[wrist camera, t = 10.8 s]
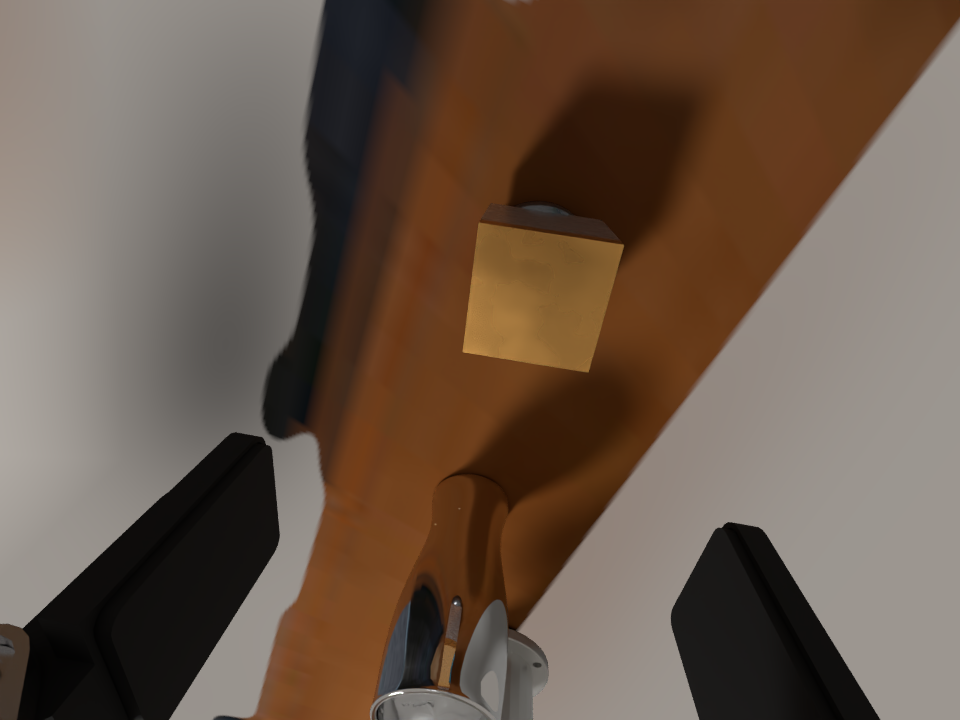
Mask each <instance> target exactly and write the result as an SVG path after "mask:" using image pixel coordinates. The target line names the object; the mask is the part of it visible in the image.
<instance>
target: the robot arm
mask: <svg viewBox="0 0 960 720" xmlns="http://www.w3.org/2000/svg"><path fill="white" fill-rule="evenodd" d="M279 537H280V534H279V522H278V511H277V501H276V489H275V478H274V467H273V456H272V449H271V447H270V446H268V445H266V444H265V441H264V439H263V438H262V437H258V436H253V435H247V434H242V433H236V432H235V433H231V434H230V435H229V436H227V437H226V438H225V439H224V440H223V441H222V442H221V443H220V444H219V445H218V446H217V447H216V448H215V449H214V450H213V451H211V452H210V453H209V454H208V455H207V456H206V457H205V458H204V459H203V460H202V461H201V462H200V463H199V464H198V465H197V466H196V467H195V468H194V469H193V470H191V471H190V472H189V473H188V474H187V475H186V476H185V477H184V478H183V479H182V480H181V481H180V482H179V483H178V484H177V485H176V486H175V487H174V488H173V489H172V490H170V491H169V492H168V493H167V494H165V495H164V496H163V497H161V498H160V499H159V500H158V501H157V502H156V503H155V504H154V505H153V506H152V507H151V508H149V509H148V510H147V511H146V512H145V513H144V514H143V515H142V516H141V517H140V518H139V519H138V520H137V521H136V522H135V523H134V524H133V525H132V526H130V527H129V528H128V530H126V531H125V532H124V533H123V534H122V535H121V536H120V537H119V538H118V539H117V540H116V541H115V542H114V543H112V545H110V546H109V547H108V548H107V549H106V550H105V551H104V552H103V553H102V554H101V555H100V556H99V557H98V558H97V559H96V560H95V561H94V562H93V563H91V564H90V565H89V566H88V567H87V568H86V569H85V570H84V571H83V572H82V573H81V574H80V575H79V576H78V577H77V578H76V579H74V580H73V581H72V582H71V583H70V584H69V585H68V586H67V587H66V588H65V589H64V590H63V591H62V592H61V593H60V594H59V595H58V596H57V597H55V598H54V599H53V600H52V601H51V602H50V603H49V604H48V605H47V606H46V607H45V608H44V609H43V610H42V611H41V612H40V613H39V614H38V615H37V616H35V617H34V618H33V619H32V620H31V621H30V622H29V623H28V624H27V625H26V626H25V627H24V628H23V629H22V628H20V627H17V626H14V625H10V624H0V720H169V719H170V717H171V716H172V714H173V712H174V711H175V709H176V707H177V706H178V704H179V703H180V701H181V700H182V698H183V697H184V695H185V693H186V692H187V690H188V689H189V687H190V686H191V684H192V682H193V681H194V679H195V677H196V676H197V674H198V673H199V671H200V670H201V668H202V667H203V665H204V663H205V662H206V660H207V659H208V657H209V655H210V654H211V652H212V651H213V649H214V647H215V646H216V644H217V643H218V641H219V640H220V638H221V636H222V635H223V633H224V632H225V630H226V629H227V627H228V625H229V624H230V622H231V621H232V619H233V617H234V616H235V614H236V613H237V611H238V609H239V608H240V606H241V604H242V603H243V601H244V600H245V598H246V597H247V595H248V594H249V592H250V590H251V589H252V587H253V586H254V584H255V583H256V581H257V579H258V578H259V576H260V575H261V573H262V571H263V570H264V568H265V566H266V565H267V564H268V562H269V560H270V559H271V557H272V556H273V554H274V552H275V550H276V548H277V546H278V542H279ZM671 625H672V630H673V633H674V636H675V640H676V643H677V646H678V650H679V653H680V656H681V660H682V663H683V667H684V670H685V673H686V676H687V679H688V683H689V687H690V690H691V693H692V697H693V700H694V703H695V707H696V710H697V713H698V717H699V720H880V719H879V717H878V715H877V714H876V712H875V710H874V709H873V707H872V706H871V704H870V703H869V701H868V699H867V697H866V696H865V694H864V693H863V691H862V690H861V688H860V686H859V685H858V683H857V681H856V680H855V678H854V676H853V675H852V673H851V671H850V670H849V669H848V667H847V665H846V663H845V662H844V660H843V658H842V657H841V655H840V654H839V652H838V650H837V649H836V647H835V646H834V644H833V642H832V641H831V639H830V637H829V636H828V634H827V633H826V631H825V629H824V628H823V626H822V624H821V623H820V621H819V620H818V618H817V616H816V615H815V613H814V611H813V610H812V608H811V607H810V605H809V603H808V602H807V600H806V599H805V597H804V595H803V594H802V592H801V590H800V589H799V587H798V585H797V584H796V582H795V581H794V579H793V577H792V576H791V574H790V572H789V571H788V569H787V568H786V566H785V564H784V563H783V561H782V560H781V558H780V556H779V555H778V553H777V551H776V550H775V548H774V546H773V545H772V543H771V542H770V540H769V538H768V537H767V535H766V534H765V532H763V530H762V529H760V528H759V527H754V526H748V525H743V524H737V523H732V522H731V523H730V522H728V523H726V524H725V525H724V526H723V527H722V528H717V529H716V530H715V531H714V532H713V534H712V536H711V538H710V540H709V542H708V543H707V545H706V547H705V549H704V551H703V553H702V555H701V556H700V558H699V561H698V562H697V564H696V566H695V568H694V570H693V572H692V573H691V575H690V577H689V579H688V581H687V583H686V584H685V586H684V588H683V590H682V592H681V594H680V596H679V597H678V599H677V601H676V603H675V605H674V607H673V609H672V613H671ZM547 681H548V662H547V659H546V656H545V654H544V653H543V651H542V650H541V648H539V646H538V645H537V644H536V643H535V642H533V641H532V640H531V639H529V638H527V637H526V636H525V635H523V634H521V633H519V632H517V631H515V630H512V629H508V659H507V673H506V682H505V691H504V699H503V707H502V715H501V720H533V697H534V696H536V695H537V694H539V692H541V691H542V690H543V688H544V687H545V685H546V683H547Z"/></svg>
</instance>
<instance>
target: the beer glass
mask: <svg viewBox="0 0 960 720" xmlns="http://www.w3.org/2000/svg"><path fill="white" fill-rule="evenodd" d="M508 508H509V505H508V499H507V497H506V494H505V493H504V491H503V490H502V489H501V487H500V486H499V485H497V484H496V483H495V482H493V481H492V480H490V479H488V478H485V477H483V476H479V475H474V474H459V475H455V476H451V477H449V478H447V479H445V480H444V481H442V482H441V483H440V484H439V485H438V487H437V488H436V490H435V492H434V495H433V500H432V521H431V528H430V531H429V534H428V537H427V540H426V542H425V544H424V546H423V548H422V550H421V552H420V554H419V556H418V558H417V560H416V562H415V564H414V566H413V569H412V571H411V573H410V575H409V577H408V579H407V581H406V583H405V586H404V588H403V590H402V593H401V595H400V598H399V600H398V602H397V605H396V608H395V611H394V615H393V618H392V621H391V624H390V627H389V631H388V635H387V639H386V643H385V647H384V651H383V655H382V660H381V665H380V669H379V674H378V680H377V685H376V690H375V694H374V699H373V703H372V706H371V709H370V719H371V720H501V715H502V707H503V699H504V691H505V682H506V673H507V659H508V629H509V623H508V609H507V598H506V589H505V581H504V574H503V567H502V558H501V537H502V532H503V528H504V525H505V522H506V518H507V514H508Z"/></svg>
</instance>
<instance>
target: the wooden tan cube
mask: <svg viewBox="0 0 960 720" xmlns="http://www.w3.org/2000/svg"><path fill="white" fill-rule="evenodd" d="M623 248H624V244H623V243H622V242H621V241H620V240H619V238H618V237H617V236H616V235H615V234H614V233H613V232H612V231H611V230H610V229H609V227H608V226H607V225H606V224H605V223H604V222H603V221H602V220H598V219H592V218H585V217H579V216H572V215H565V214H559V213H552V212H545V211H539V210H532V209H526V208H519V207H513V206H506V205H499V204H493V203H491V204H490V205H489V207H488V209H487V210H486V212H485V213H484V215H483V217H482V218H481V220H480V222H479V225H478V233H477V241H476V249H475V257H474V265H473V273H472V281H471V290H470V298H469V306H468V314H467V322H466V330H465V338H464V346H463V352H465V353H471V354H478V355H484V356H490V357H496V358H502V359H508V360H514V361H521V362H527V363H533V364H539V365H545V366H551V367H557V368H564V369H570V370H576V371H582V372H589V369H590V365H591V362H592V358H593V354H594V351H595V347H596V344H597V340H598V337H599V333H600V330H601V326H602V322H603V319H604V315H605V312H606V308H607V305H608V301H609V298H610V294H611V290H612V287H613V283H614V280H615V276H616V273H617V269H618V266H619V262H620V258H621V255H622V251H623Z"/></svg>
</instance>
